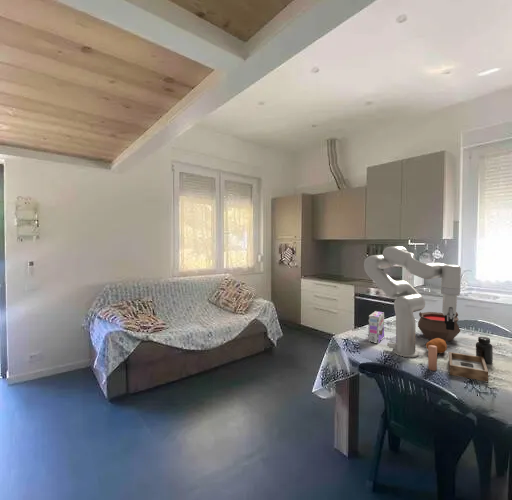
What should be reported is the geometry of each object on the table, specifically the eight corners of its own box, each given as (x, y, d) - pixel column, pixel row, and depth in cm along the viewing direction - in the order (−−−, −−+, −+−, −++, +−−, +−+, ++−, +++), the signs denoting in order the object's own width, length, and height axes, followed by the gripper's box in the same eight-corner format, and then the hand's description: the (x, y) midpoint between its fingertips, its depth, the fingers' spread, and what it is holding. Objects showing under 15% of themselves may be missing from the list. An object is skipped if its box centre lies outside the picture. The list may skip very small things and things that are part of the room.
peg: (428, 369, 144) (428, 347, 144) (428, 366, 148) (428, 344, 147) (436, 371, 143) (437, 348, 142) (436, 368, 146) (437, 345, 145)
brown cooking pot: (448, 332, 198) (448, 307, 197) (470, 345, 174) (470, 317, 174) (410, 331, 201) (410, 307, 200) (426, 344, 177) (426, 317, 176)
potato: (452, 354, 162) (452, 340, 162) (435, 357, 159) (435, 343, 159) (437, 348, 171) (437, 335, 171) (421, 350, 168) (421, 337, 167)
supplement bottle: (485, 358, 156) (485, 335, 155) (496, 364, 149) (496, 340, 148) (472, 358, 156) (472, 336, 155) (482, 364, 149) (483, 340, 148)
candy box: (378, 344, 179) (378, 316, 178) (368, 342, 182) (368, 315, 181) (384, 337, 190) (384, 311, 189) (374, 336, 193) (374, 310, 192)
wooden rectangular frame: (450, 374, 139) (450, 365, 139) (449, 360, 154) (449, 351, 154) (488, 381, 132) (488, 371, 131) (483, 366, 147) (483, 357, 147)
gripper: (440, 287, 152) (439, 320, 153) (442, 293, 137) (441, 330, 138) (458, 288, 148) (456, 322, 149) (462, 295, 133) (460, 333, 134)
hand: (449, 326), depth 144 cm, fingers open, 9 cm apart
